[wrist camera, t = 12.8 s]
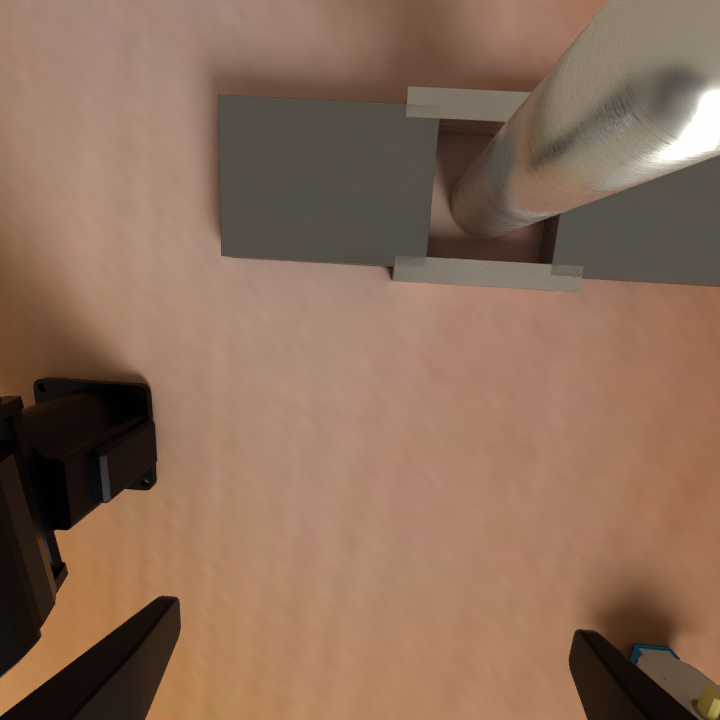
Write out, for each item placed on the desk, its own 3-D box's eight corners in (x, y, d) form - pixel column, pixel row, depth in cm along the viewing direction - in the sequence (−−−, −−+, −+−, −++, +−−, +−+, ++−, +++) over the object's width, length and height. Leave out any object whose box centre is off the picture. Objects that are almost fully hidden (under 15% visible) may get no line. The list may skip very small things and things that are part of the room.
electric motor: (712, 630, 23) (803, 723, 18) (691, 689, 24) (773, 792, 19) (603, 619, 23) (664, 709, 18) (587, 679, 24) (641, 779, 19)
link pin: (438, 220, 19) (579, 88, 6) (472, 150, 18) (715, -175, 5) (500, 251, 19) (767, 185, 6) (536, 182, 18) (923, -54, 5)
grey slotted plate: (232, 271, 19) (221, 270, 18) (230, 93, 18) (217, 76, 16) (728, 301, 19) (757, 302, 17) (776, 121, 17) (813, 106, 16)
